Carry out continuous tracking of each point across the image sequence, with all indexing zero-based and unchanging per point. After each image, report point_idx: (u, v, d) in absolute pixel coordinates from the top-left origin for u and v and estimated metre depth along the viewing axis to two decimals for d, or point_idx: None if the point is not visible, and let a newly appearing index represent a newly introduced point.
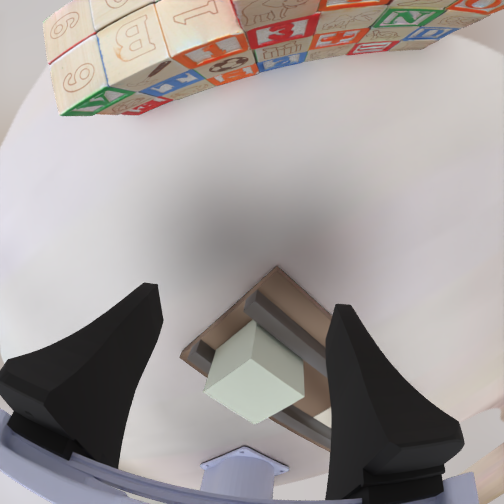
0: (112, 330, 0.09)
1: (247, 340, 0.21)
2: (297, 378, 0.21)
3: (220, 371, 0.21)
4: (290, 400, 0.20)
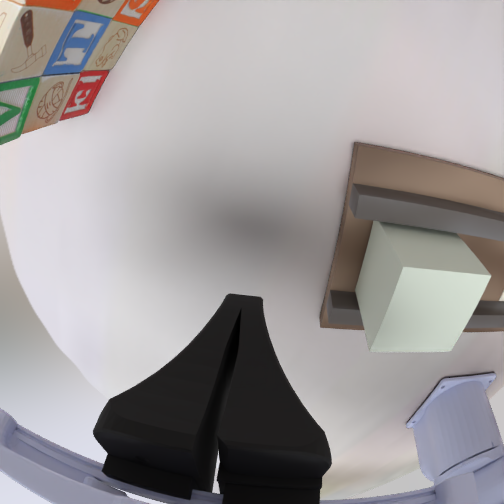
0: (221, 350, 0.09)
1: (383, 250, 0.14)
2: (469, 258, 0.12)
3: (375, 311, 0.14)
4: (478, 292, 0.11)
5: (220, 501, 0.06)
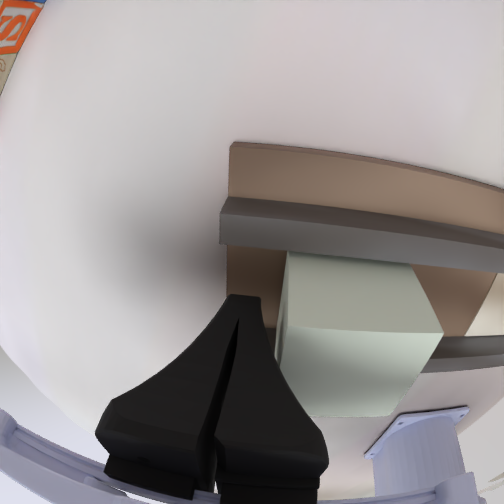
0: (223, 350, 0.09)
1: (286, 291, 0.11)
2: (414, 304, 0.09)
3: None
4: (422, 354, 0.09)
5: (218, 501, 0.06)
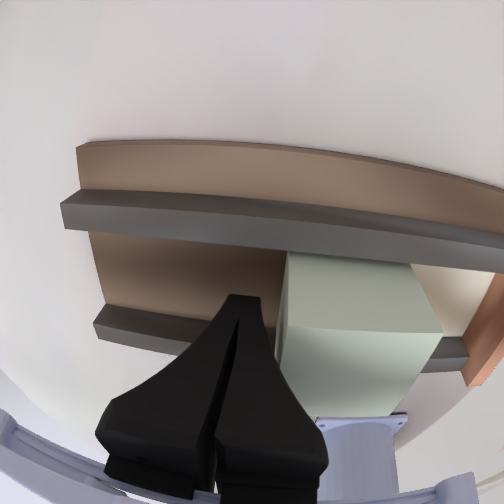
0: (223, 350, 0.09)
1: (286, 290, 0.11)
2: (414, 304, 0.09)
3: None
4: (422, 354, 0.09)
5: (218, 501, 0.06)
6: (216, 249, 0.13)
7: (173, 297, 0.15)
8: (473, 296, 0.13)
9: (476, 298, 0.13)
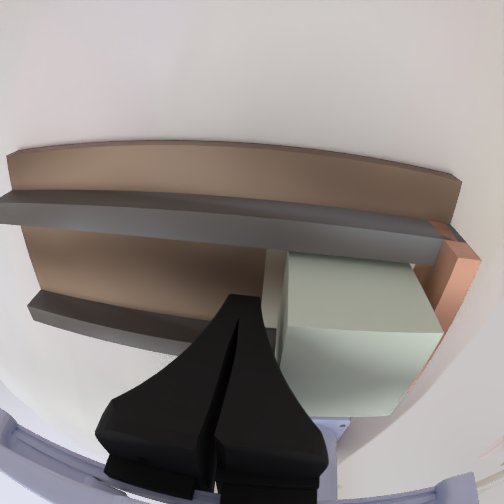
0: (223, 350, 0.09)
1: (286, 291, 0.11)
2: (414, 304, 0.09)
3: None
4: (422, 353, 0.09)
5: (218, 501, 0.06)
6: (109, 238, 0.14)
7: (86, 283, 0.15)
8: None
9: None
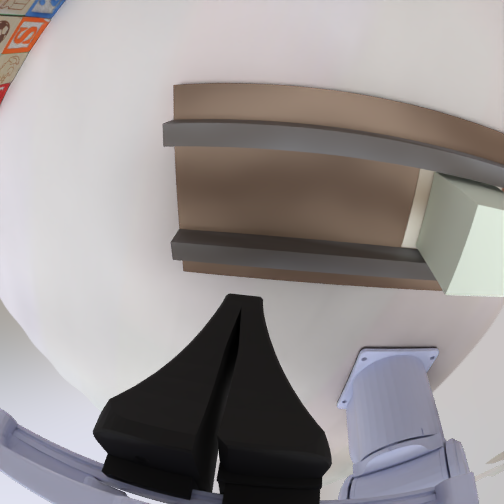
0: (221, 349, 0.09)
1: (451, 198, 0.13)
2: None
3: (448, 255, 0.14)
4: None
5: (220, 501, 0.06)
6: (291, 167, 0.16)
7: (248, 214, 0.18)
8: None
9: None
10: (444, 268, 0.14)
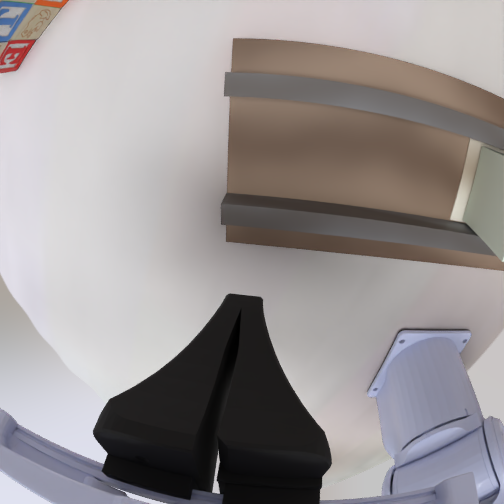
0: (221, 349, 0.09)
1: (502, 169, 0.12)
2: None
3: (502, 222, 0.12)
4: None
5: (220, 501, 0.06)
6: (352, 130, 0.15)
7: (305, 178, 0.17)
8: None
9: None
10: (498, 236, 0.12)
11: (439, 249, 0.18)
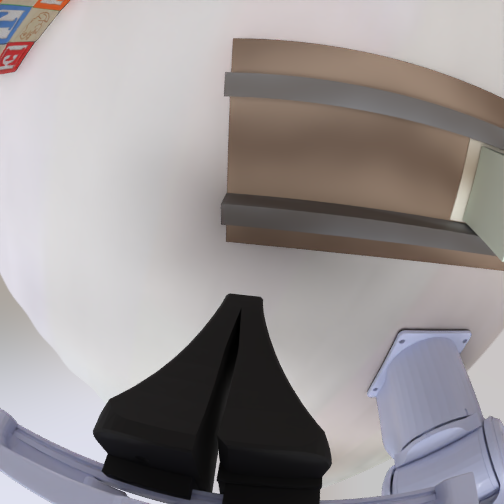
0: (221, 349, 0.09)
1: (502, 169, 0.12)
2: None
3: (502, 222, 0.12)
4: None
5: (220, 501, 0.06)
6: (352, 130, 0.15)
7: (305, 178, 0.17)
8: None
9: None
10: (498, 236, 0.12)
11: (439, 249, 0.18)
